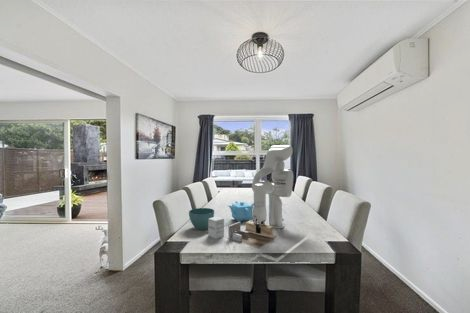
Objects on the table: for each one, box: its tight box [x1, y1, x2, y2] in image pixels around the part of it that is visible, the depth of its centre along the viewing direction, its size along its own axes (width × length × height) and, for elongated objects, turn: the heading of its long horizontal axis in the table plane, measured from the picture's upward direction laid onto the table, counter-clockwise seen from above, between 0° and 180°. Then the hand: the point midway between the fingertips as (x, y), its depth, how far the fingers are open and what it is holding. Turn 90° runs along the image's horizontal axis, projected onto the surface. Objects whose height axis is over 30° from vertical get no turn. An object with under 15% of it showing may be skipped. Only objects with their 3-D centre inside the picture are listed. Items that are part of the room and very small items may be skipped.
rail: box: [245, 220, 274, 237], centre depth 143 cm, size 4×18×5 cm, turn 51°
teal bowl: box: [188, 207, 215, 231], centre depth 162 cm, size 18×18×12 cm
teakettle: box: [228, 200, 254, 224], centre depth 180 cm, size 19×19×15 cm
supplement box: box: [207, 216, 225, 240], centre depth 142 cm, size 7×7×13 cm
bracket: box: [227, 221, 249, 243], centre depth 138 cm, size 11×8×8 cm
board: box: [226, 229, 278, 249], centre depth 139 cm, size 22×23×2 cm
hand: (260, 231), depth 142 cm, fingers closed on rail, 4 cm apart
